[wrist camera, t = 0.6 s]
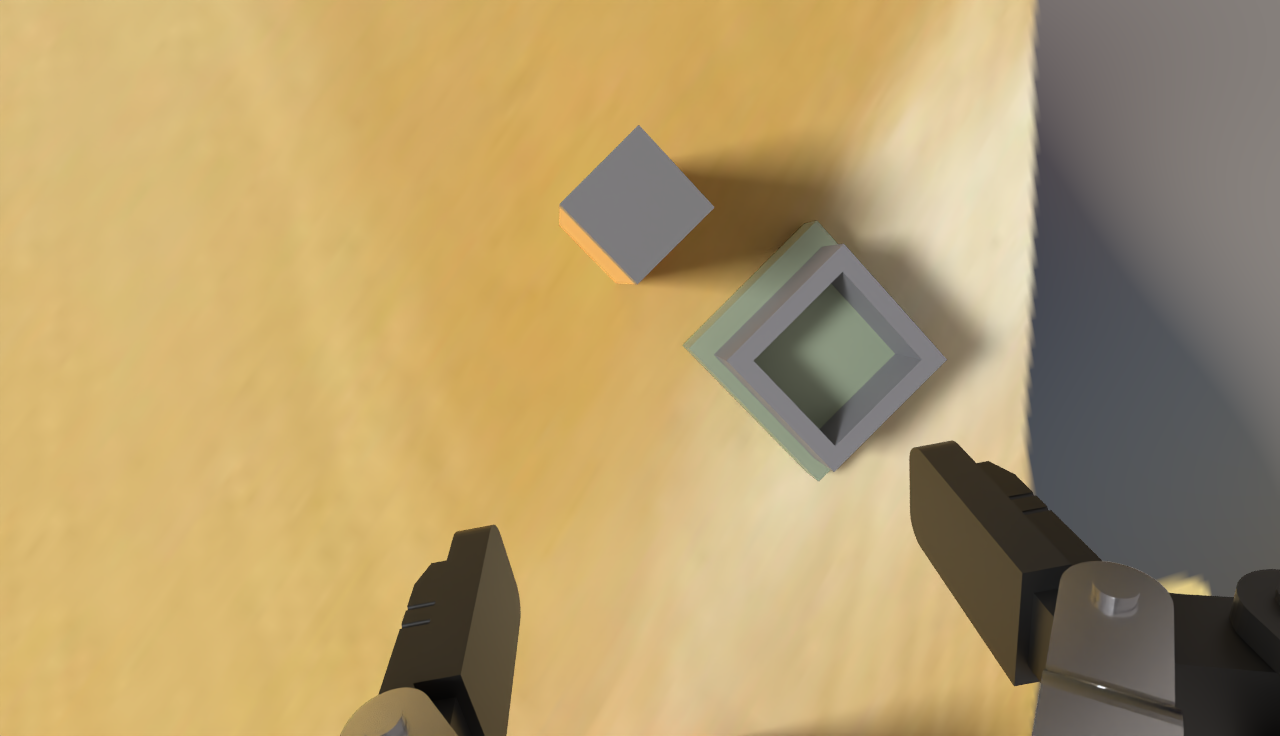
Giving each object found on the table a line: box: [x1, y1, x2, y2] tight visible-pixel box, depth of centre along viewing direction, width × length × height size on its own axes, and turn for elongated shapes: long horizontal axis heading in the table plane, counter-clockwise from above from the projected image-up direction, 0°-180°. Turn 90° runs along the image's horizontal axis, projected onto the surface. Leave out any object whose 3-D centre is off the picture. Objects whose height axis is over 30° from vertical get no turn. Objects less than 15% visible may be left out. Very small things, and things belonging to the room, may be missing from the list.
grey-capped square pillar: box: [559, 125, 715, 284], centre depth 34 cm, size 4×4×11 cm
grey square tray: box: [683, 221, 947, 481], centre depth 39 cm, size 11×10×5 cm
